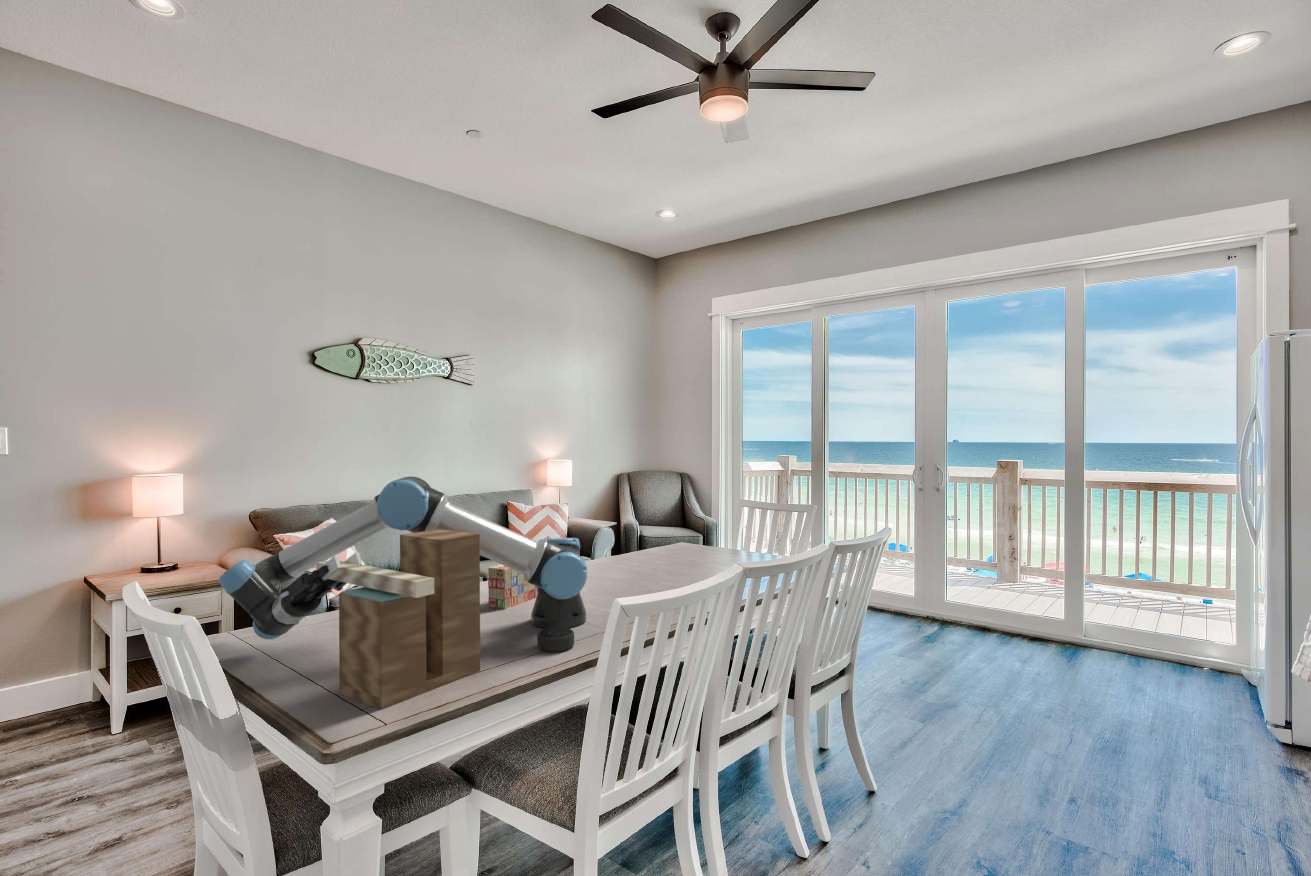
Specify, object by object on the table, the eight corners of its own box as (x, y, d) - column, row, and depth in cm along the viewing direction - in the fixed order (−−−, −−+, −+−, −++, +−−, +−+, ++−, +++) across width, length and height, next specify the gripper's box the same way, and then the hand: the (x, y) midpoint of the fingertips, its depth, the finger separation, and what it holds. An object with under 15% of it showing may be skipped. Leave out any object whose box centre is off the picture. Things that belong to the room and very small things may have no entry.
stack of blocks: (530, 592, 216) (530, 554, 216) (546, 594, 213) (546, 556, 213) (488, 607, 197) (487, 566, 197) (504, 610, 194) (504, 568, 194)
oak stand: (339, 693, 131) (338, 543, 131) (438, 658, 151) (437, 529, 151) (381, 709, 124) (380, 550, 124) (480, 670, 144) (479, 534, 144)
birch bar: (316, 576, 141) (316, 562, 141) (334, 573, 144) (334, 559, 144) (416, 597, 122) (416, 581, 122) (434, 593, 126) (434, 577, 126)
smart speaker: (532, 645, 161) (532, 629, 161) (566, 639, 166) (566, 623, 166) (545, 656, 154) (545, 638, 154) (580, 649, 158) (580, 633, 158)
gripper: (338, 608, 155) (390, 569, 144) (262, 626, 141) (313, 584, 130) (329, 579, 157) (379, 538, 146) (253, 594, 143) (303, 549, 132)
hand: (348, 559), depth 138 cm, fingers closed on birch bar, 4 cm apart
